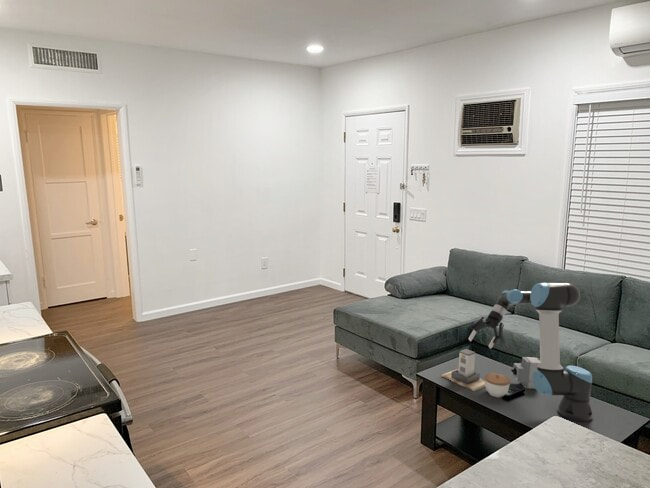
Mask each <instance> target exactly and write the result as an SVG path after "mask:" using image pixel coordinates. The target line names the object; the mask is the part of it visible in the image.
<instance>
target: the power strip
mask: <svg viewBox="0 0 650 488" xmlns="http://www.w3.org/2000/svg"><path fill="white" fill-rule="evenodd" d="M475 358H476V351H472V350H470V349H468V348H465V349H462V350H459V355H458V368H457V369H458V373H459V374H461V375H463V376H465V377H469V376H472V375H474V372H475V371H474V370H475V361H476V360H475Z"/></svg>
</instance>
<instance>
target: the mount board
mask: <svg viewBox="0 0 650 488" xmlns="http://www.w3.org/2000/svg"><path fill="white" fill-rule="evenodd" d="M455 370H458V368H456V369H454V370H451V371H448V372H445V373H443V374H442V373H441V377H442V378H444V379H447V380H448V379H449V381H450V380H451V381H450V382H453V383H455V384H456V385H459V386H462V387H464V388H465V389H468V390H470V391H472V392H475V391H478V390H480V389H482V388H486V387H485V379H482V378H480V380H478V381H475V382H473V383H470V384H465V383H463V382H460V381H458V380H456V379H454V378H452V377H451V375H452V371H455Z"/></svg>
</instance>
